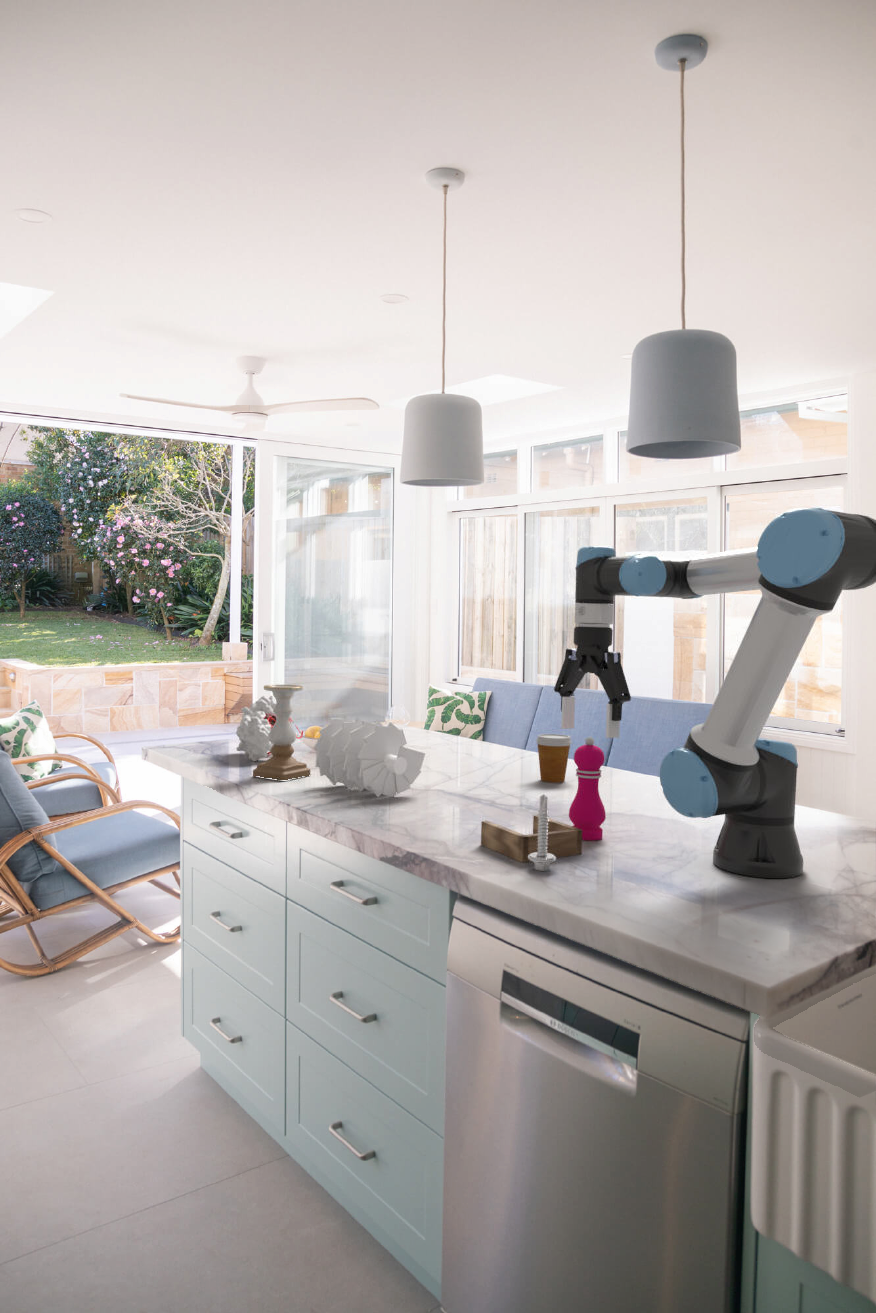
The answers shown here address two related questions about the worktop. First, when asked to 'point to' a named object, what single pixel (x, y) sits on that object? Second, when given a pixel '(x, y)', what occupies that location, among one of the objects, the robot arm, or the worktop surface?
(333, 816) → the worktop surface
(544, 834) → the screw
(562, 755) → the disposable coffee cup
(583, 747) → the pepper mill
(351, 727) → the spiral staircase
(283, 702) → the candle holder
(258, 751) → the protein dna model
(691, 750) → the robot arm
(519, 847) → the u rest
